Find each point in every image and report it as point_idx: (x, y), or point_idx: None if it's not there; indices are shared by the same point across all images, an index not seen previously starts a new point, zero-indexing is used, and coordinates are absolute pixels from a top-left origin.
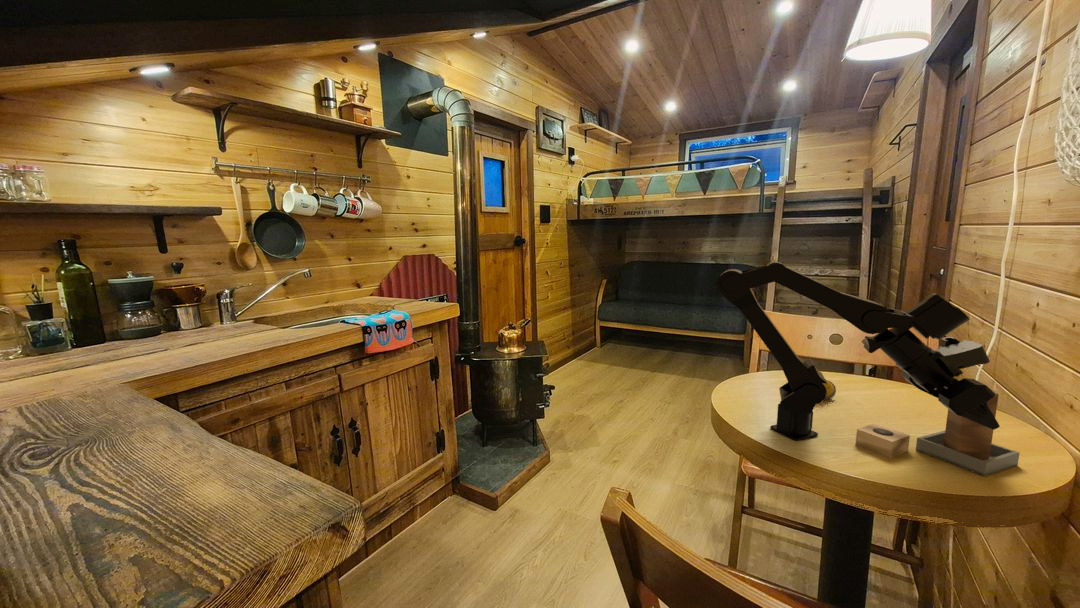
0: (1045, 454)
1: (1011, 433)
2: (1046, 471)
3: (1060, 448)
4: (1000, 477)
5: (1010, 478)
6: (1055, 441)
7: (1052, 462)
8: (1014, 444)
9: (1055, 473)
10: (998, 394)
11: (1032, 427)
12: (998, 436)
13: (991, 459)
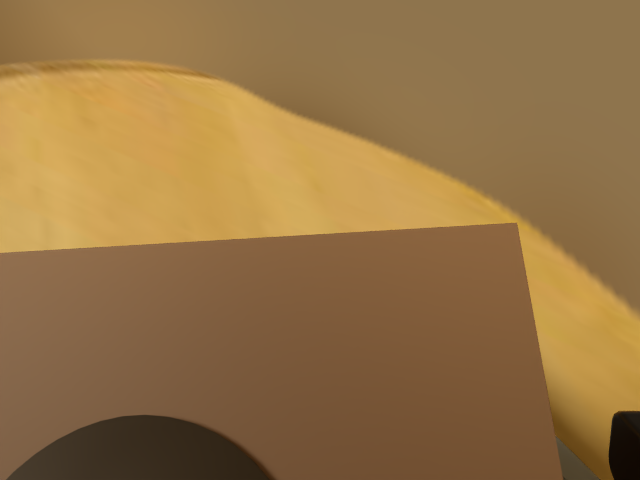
0: (227, 140)
1: (55, 159)
2: (396, 204)
3: (166, 82)
4: (576, 435)
5: (561, 388)
6: (112, 72)
7: (296, 149)
8: (154, 194)
9: (403, 183)
10: (511, 231)
11: (7, 83)
12: (84, 212)
13: (564, 465)
